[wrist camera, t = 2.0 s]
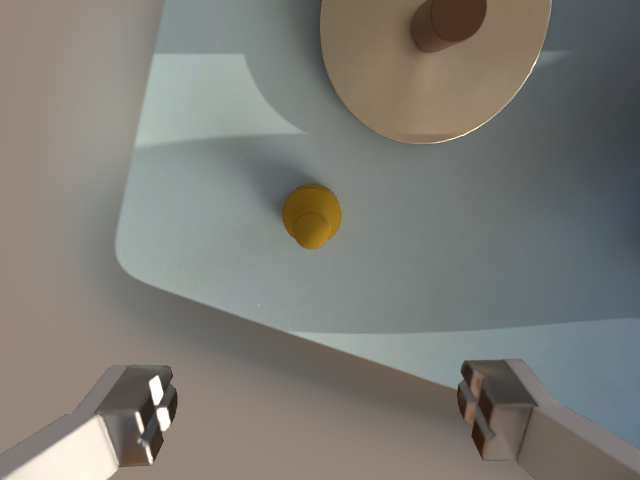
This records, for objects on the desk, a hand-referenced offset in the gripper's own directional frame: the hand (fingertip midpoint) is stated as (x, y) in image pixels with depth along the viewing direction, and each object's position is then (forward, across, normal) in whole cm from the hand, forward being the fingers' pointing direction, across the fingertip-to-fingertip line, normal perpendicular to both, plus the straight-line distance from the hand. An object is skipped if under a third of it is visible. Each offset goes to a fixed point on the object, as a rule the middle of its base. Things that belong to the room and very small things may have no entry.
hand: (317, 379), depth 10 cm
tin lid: (+15, -7, -11) cm, 20 cm away
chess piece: (+16, 0, 0) cm, 16 cm away
